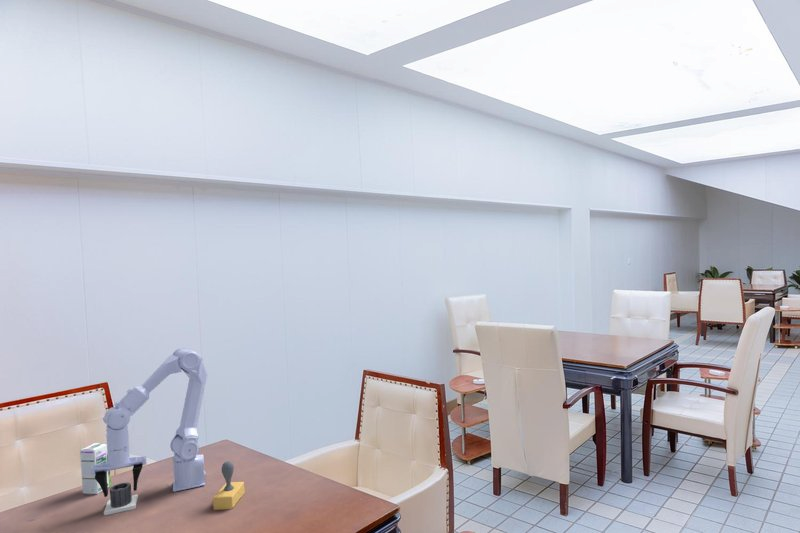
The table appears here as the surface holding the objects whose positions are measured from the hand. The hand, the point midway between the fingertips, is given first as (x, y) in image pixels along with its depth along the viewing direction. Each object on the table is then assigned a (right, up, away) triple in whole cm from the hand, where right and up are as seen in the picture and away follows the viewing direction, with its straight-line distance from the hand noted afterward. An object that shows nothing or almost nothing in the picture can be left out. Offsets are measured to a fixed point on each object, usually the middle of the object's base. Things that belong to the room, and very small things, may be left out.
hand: (120, 492), depth 147 cm
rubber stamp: (+33, -3, 0) cm, 33 cm away
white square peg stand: (0, -4, 0) cm, 4 cm away
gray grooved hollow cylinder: (0, -3, 0) cm, 3 cm away
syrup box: (-15, -5, +12) cm, 20 cm away
